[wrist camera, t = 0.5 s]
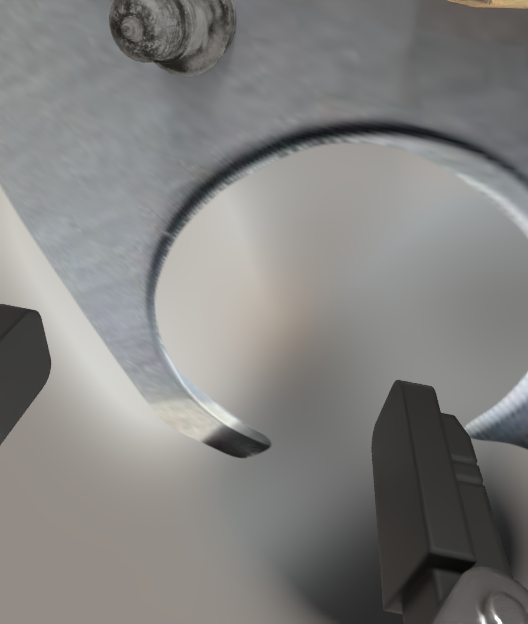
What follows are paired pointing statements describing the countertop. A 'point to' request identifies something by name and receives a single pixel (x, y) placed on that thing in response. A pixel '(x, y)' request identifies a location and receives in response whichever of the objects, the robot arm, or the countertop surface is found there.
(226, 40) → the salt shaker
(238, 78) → the countertop surface
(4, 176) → the countertop surface
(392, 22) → the countertop surface
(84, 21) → the countertop surface
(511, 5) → the sandwich container
